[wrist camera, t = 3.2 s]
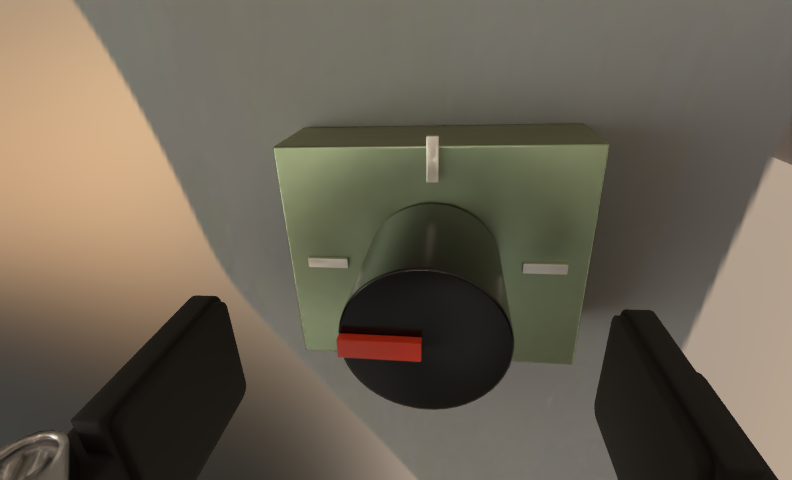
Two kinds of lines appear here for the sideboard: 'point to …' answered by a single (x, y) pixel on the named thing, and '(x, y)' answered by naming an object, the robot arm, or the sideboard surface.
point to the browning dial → (429, 311)
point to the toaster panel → (458, 187)
